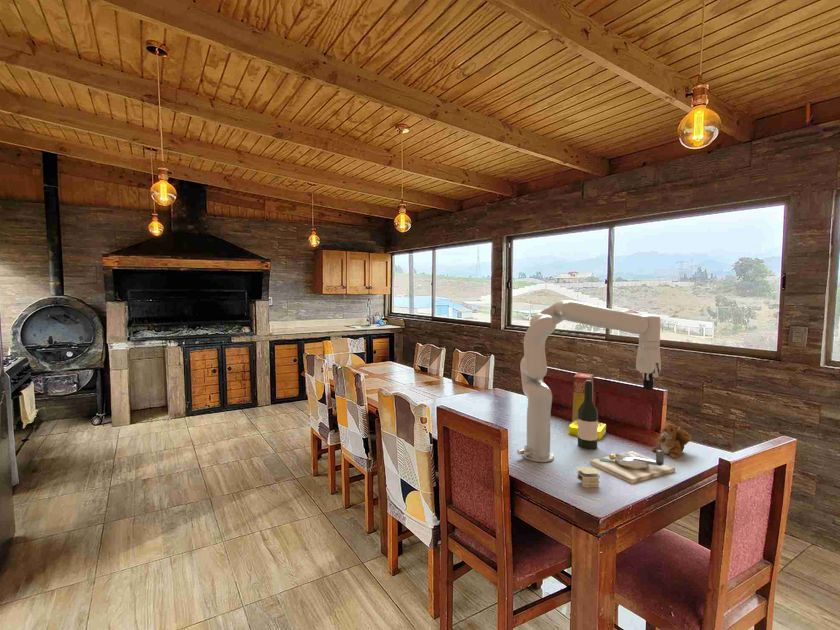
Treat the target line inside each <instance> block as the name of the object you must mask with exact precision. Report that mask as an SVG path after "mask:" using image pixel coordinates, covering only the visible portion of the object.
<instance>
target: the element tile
mask: <svg viewBox="0 0 840 630" xmlns="http://www.w3.org/2000/svg"><path fill="white" fill-rule="evenodd" d="M567 430H568V432H567V433H568V435H571V436H575V437H578V419H576V420H574V421H573V422H572V421H571V423H569V425H568V429H567ZM606 433H607V424H606V423H603V422H598V439H597V441H599V440H602V439H603V437H604V436H605V435H606Z"/></svg>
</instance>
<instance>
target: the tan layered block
mask: <svg viewBox="0 0 840 630" xmlns="http://www.w3.org/2000/svg"><path fill="white" fill-rule="evenodd" d="M576 469H577V471H576V473H577V476H576V479H577V480H578V481H579V482H581V483H582V487H583V488H587V489H588V488H599V485H600V484H601V481H600V479H599V478H601V475H599V474H601V472H600V471H599V470H598V469H597V468H596V467H595V468H593V467H587V466H586V467H585V466H578V467H576Z"/></svg>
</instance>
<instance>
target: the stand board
mask: <svg viewBox="0 0 840 630" xmlns="http://www.w3.org/2000/svg"><path fill="white" fill-rule="evenodd" d="M626 452H627V453H634V454H638V455H641V456H644V457H646V458H647V459H650V460H655V459H653V458H651V457H649V456H645V455H643V454H641V453H638V452H635V451H633V450H631V451H626ZM589 464H590V465H591V466H593V467H595V468H596V469H597V468H598V469H600V470H602V471H604V472H606V473H608V474H610V475H613V476H615V477H616V478H619V479H621V480H624V481H625V482H626V483H630V484H635V483H636V484H637V483H638V482H642V481H646V480H650V479H653V478H657V477H660V476H664V475H668V474H671V473H675V472H676V468H675V467H674V466H671V465H669V464H666V463H664V465H661V466H657V465H651V464H649V468H647V469H643V470H636V469H629V468H625V467H622V466H620V465H618V464H617V463H616V462H615V459H614V460H611V459H610V458H609V455H607V456H603V457H598V458H594V459H590V460H589Z"/></svg>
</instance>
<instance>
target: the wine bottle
mask: <svg viewBox="0 0 840 630" xmlns="http://www.w3.org/2000/svg"><path fill="white" fill-rule="evenodd" d="M592 392H593V393H594V381H593V382H592V380H586V382H585V387H584V402H583V403H582V405H581V406H580V408H579V409H578V436H577V447H579V448H581V449H583V450H588V451H595V450H597V449H598V440H597V439H598V423H599V410H598V408H597V406H596V405H595V403H594V400H593V401H592Z"/></svg>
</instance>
